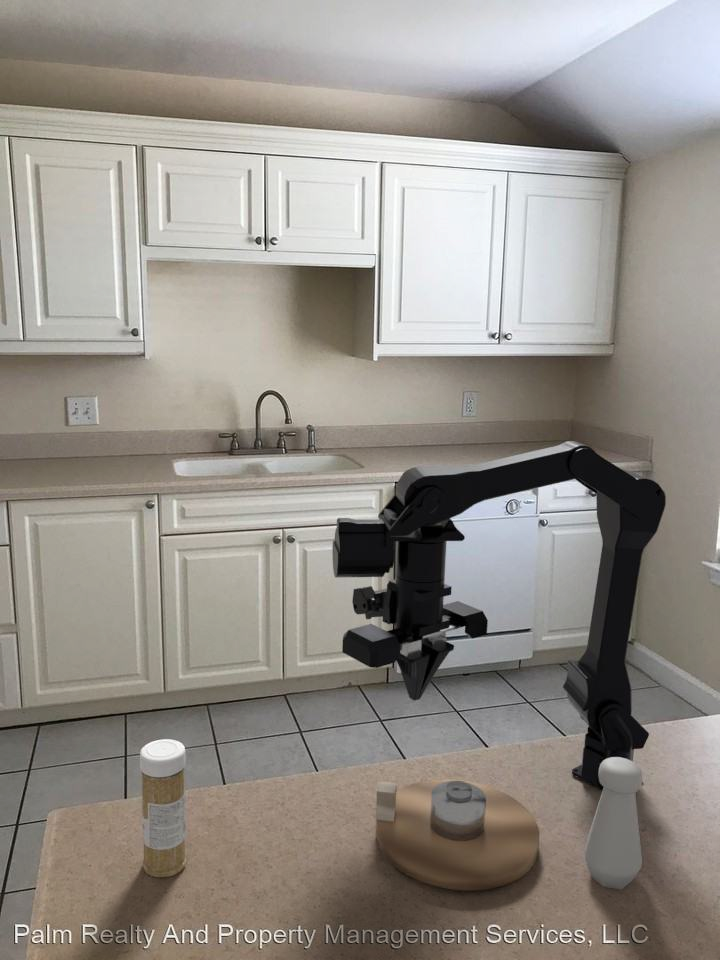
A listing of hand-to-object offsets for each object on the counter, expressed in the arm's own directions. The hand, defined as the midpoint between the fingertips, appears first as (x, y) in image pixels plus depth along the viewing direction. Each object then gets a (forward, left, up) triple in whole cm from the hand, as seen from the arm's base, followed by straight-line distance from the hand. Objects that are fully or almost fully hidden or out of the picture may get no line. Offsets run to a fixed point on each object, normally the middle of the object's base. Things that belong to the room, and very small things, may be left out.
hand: (414, 698), depth 101 cm
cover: (+3, +11, -10) cm, 15 cm away
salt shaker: (-6, +25, -12) cm, 28 cm away
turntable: (+3, +11, -12) cm, 16 cm away
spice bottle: (+31, -4, -12) cm, 33 cm away
